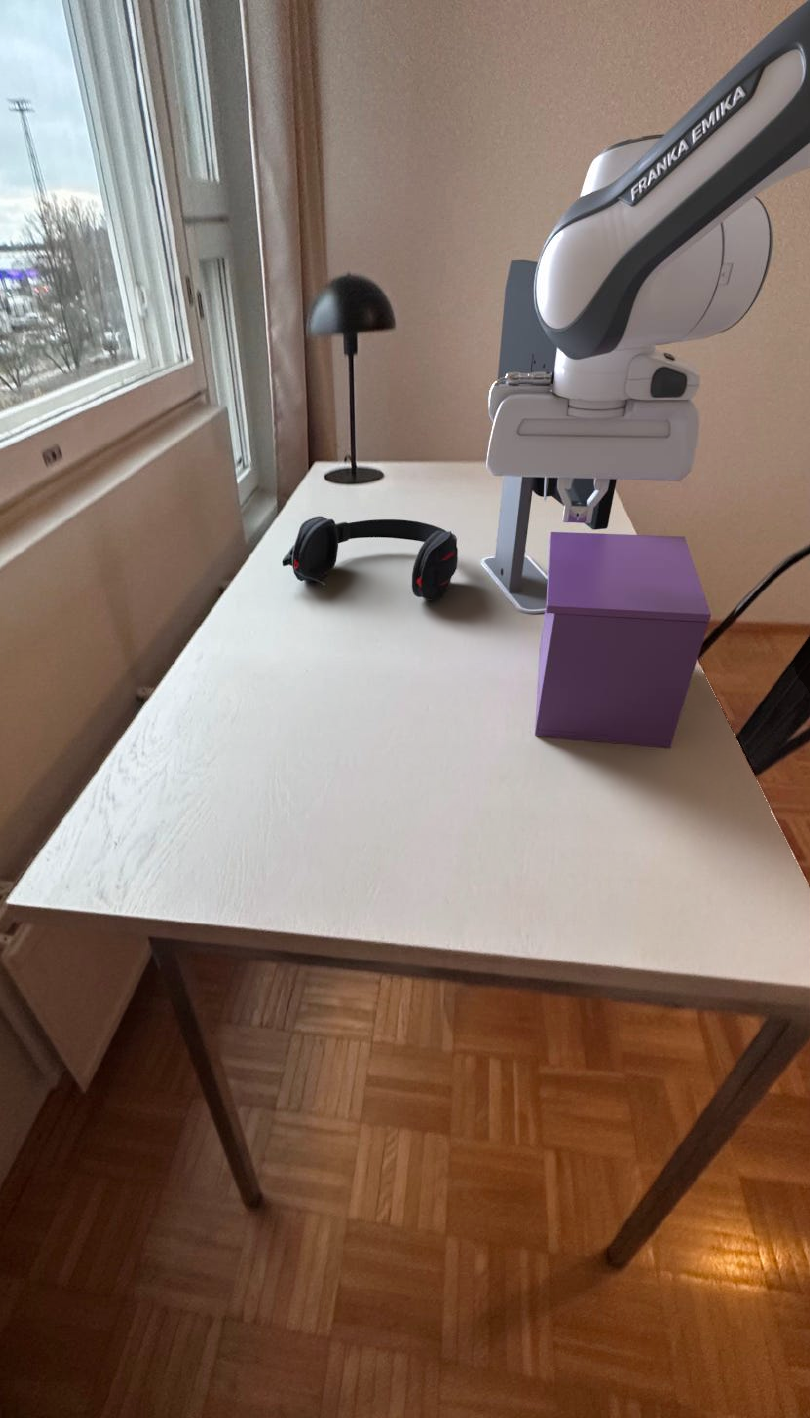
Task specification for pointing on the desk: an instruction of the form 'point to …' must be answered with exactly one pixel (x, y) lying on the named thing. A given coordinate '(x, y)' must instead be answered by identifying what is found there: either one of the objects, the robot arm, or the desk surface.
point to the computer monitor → (510, 566)
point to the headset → (323, 535)
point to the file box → (615, 677)
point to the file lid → (624, 577)
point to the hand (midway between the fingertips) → (576, 521)
